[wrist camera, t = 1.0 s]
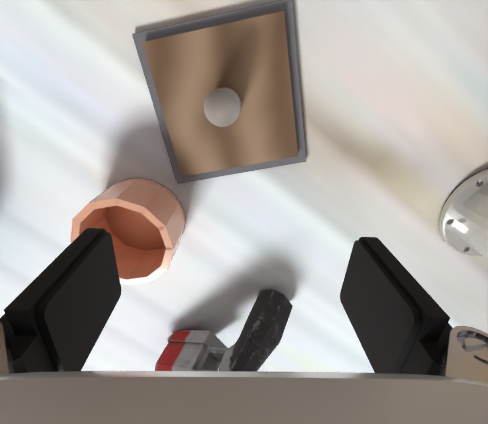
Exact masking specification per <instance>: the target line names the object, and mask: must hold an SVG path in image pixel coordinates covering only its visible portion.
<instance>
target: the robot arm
mask: <svg viewBox="0 0 488 424" xmlns="http://www.w3.org/2000/svg"><path fill="white" fill-rule="evenodd" d="M439 230H440V233H441V236H442V238H443V239H444V241H445V242H446V243H447V244H448V245H449V246H450V247H452V248H453V249H455V250H456V251H458V252H460V253H462V254H466V255H471V256H483V255H484V256H485V257H486V258H488V169H486V170H484V171H481V172H479V173H477V174H475V175H473V176H472V177H470V178H469V179H467V180H466V181H465V182H463V183H462V184H461V185H460V186H459V187H458V188H457V189H456V190H455V191H454V192H453V193H452V194H451V195H450V197H449V198H448V200H447V201H446V203H445V204H444V207H443V209H442V211H441V214H440V220H439ZM120 295H121V284H120V279H119V274H118V268H117V263H116V258H115V252H114V247H113V241H112V236H111V234H110V233H109V232H107V231H106V230H105V229H104V228H87V229H85V230H84V231H83V232H82V233H81V234H80V235H79V236H78V237H77V238H76V239H75V240H74V241H73V242H72V243H71V244H70V245H69V246H68V247H67V248H66V249H65V250H64V251H63V252H62V253H61V254H60V255H59V256H58V257H57V258H56V259H55V260H54V261H53V262H52V263H51V264H50V265H49V266H48V267H47V268H46V269H45V270H44V271H43V272H42V273H41V274H40V275H39V276H38V277H37V278H36V279H35V280H34V281H33V282H32V283H31V284H30V285H29V286H28V287H27V288H26V289H25V290H24V291H23V292H22V293H21V294H20V295H19V296H18V297H17V298H16V299H15V300H14V301H13V302H12V303H11V304H10V305H8V306H7V307H6V308H5V309H4V312H5V314H4V315H3V316H2V317H1V318H0V424H488V334H487V333H485V332H483V331H481V330H478V329H475V328H472V327H467V326H456V327H454V328H452V327H451V326H450V325H449V323H448V321H449V319H450V317H449V316H448V315H447V314H446V313H445V312H444V311H443V310H442V309H441V307H440V306H439V305H438V304H437V303H436V302H435V301H434V300H433V299H432V297H431V296H430V295H429V294H428V293H427V292H426V291H425V290H424V289H423V288H422V286H421V285H420V284H419V283H418V282H417V281H416V280H415V279H414V278H413V276H412V275H411V274H410V273H409V272H408V271H407V270H406V269H405V268H404V267H403V265H402V264H401V263H400V262H399V261H398V260H397V259H396V258H395V257H394V256H393V254H392V253H391V252H390V251H389V250H388V249H387V248H386V247H385V246H384V244H383V243H382V242H381V241H380V240H379V239H378V238H376V237H361V238H360V239H359V240H357V241H355V242H354V245H353V249H352V253H351V256H350V260H349V264H348V267H347V271H346V274H345V278H344V282H343V285H342V289H341V293H340V299H341V303H342V305H343V307H344V309H345V311H346V313H347V315H348V318H349V320H350V322H351V324H352V326H353V328H354V330H355V332H356V334H357V336H358V338H359V341H360V343H361V345H362V347H363V349H364V351H365V353H366V355H367V357H368V359H369V361H370V364H371V366H372V368H373V370H374V372H375V373H338V372H244V371H81V369H82V367H83V366H84V364H85V362H86V360H87V358H88V356H89V354H90V352H91V351H92V349H93V347H94V345H95V343H96V341H97V339H98V337H99V336H100V334H101V332H102V330H103V328H104V326H105V324H106V322H107V321H108V319H109V317H110V315H111V313H112V311H113V309H114V307H115V306H116V304H117V302H118V300H119V298H120Z"/></svg>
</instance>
